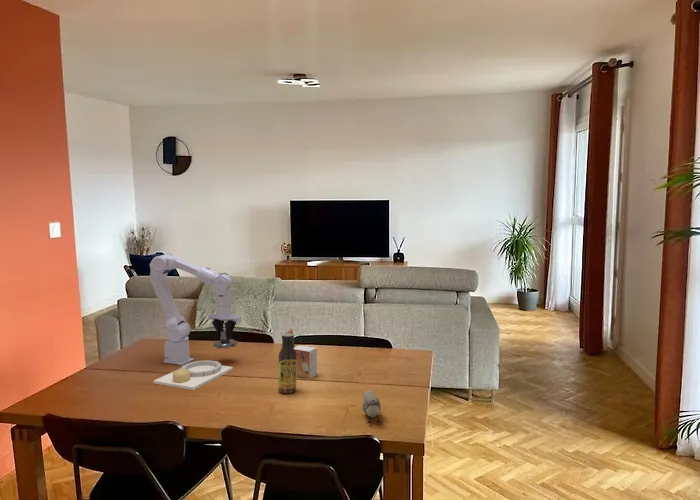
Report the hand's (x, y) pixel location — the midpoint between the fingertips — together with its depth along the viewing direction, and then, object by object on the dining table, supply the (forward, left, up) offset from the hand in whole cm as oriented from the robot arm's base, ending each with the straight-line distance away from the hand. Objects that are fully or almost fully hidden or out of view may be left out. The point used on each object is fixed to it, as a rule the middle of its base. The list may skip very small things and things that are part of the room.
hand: (225, 338), depth 215 cm
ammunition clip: (+22, +12, -10) cm, 27 cm away
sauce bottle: (+39, -18, -10) cm, 44 cm away
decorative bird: (+73, -26, -10) cm, 78 cm away
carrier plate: (-1, -18, -10) cm, 21 cm away
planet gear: (0, 0, -3) cm, 3 cm away
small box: (+37, -2, -10) cm, 38 cm away
